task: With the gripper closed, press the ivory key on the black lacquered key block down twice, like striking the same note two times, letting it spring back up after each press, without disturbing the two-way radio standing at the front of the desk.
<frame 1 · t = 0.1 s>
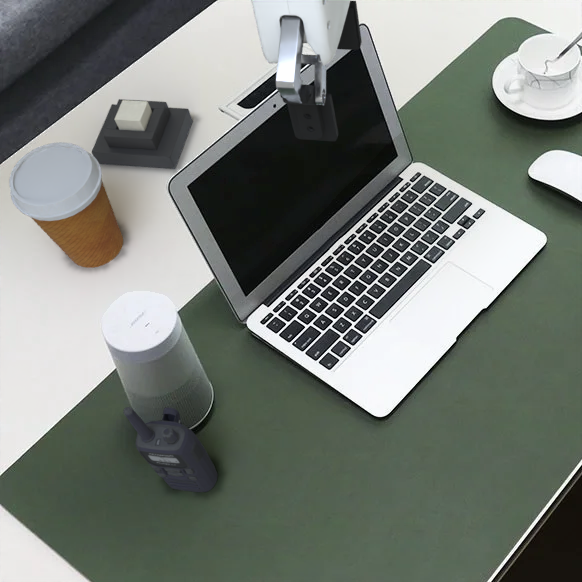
hand: (330, 90, 64), 29 cm above the table, tool pointing down, fingers open, 9 cm apart
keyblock: (146, 143, 103), on the table
key: (133, 115, 99), point 4 cm above the table, slide at 0.1 cm
two-way radio: (195, 473, 82), on the table
disposable coffee cup: (97, 247, 96), on the table
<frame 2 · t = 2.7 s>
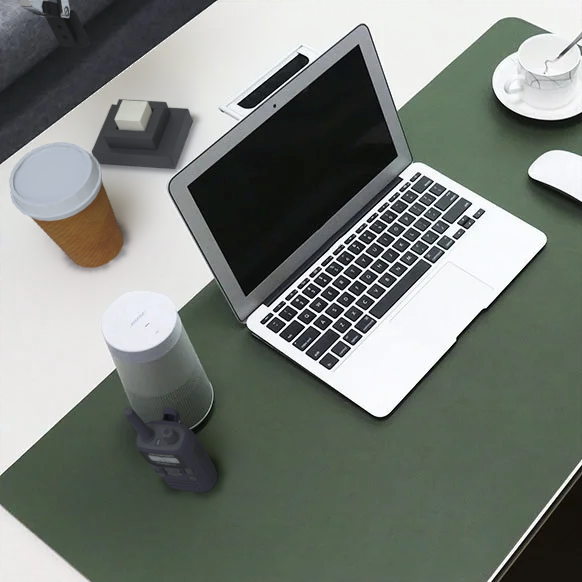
hand: (88, 18, 87), 18 cm above the table, tool pointing down, fingers open, 7 cm apart
nothing on the table moved.
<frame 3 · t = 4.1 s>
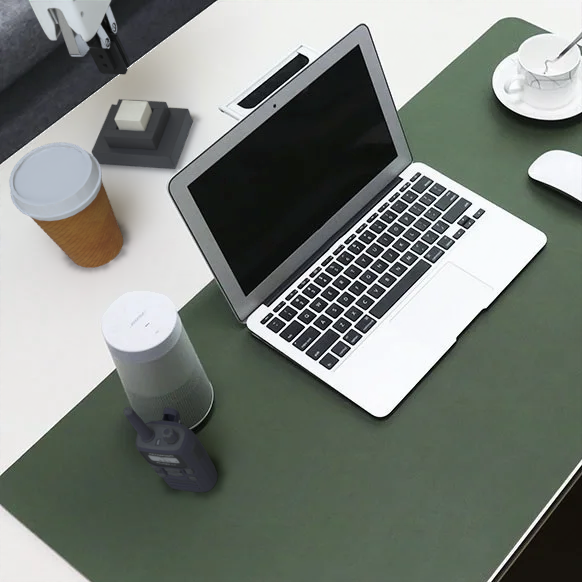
hand: (115, 68, 93), 11 cm above the table, tool pointing down, fingers closed
nothing on the table moved.
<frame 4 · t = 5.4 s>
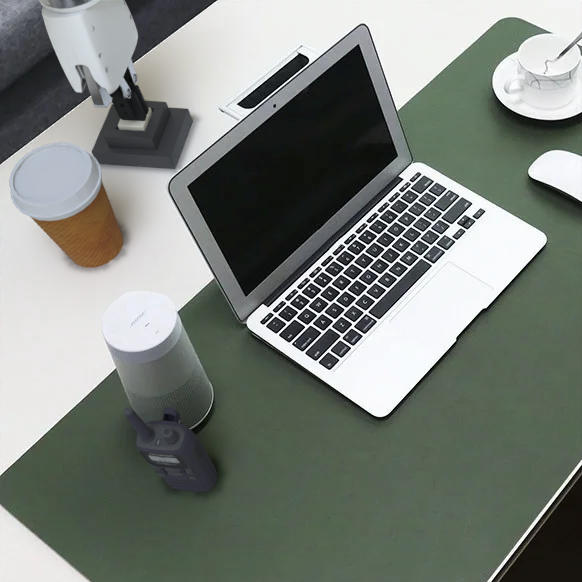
hand: (135, 115, 99), 4 cm above the table, tool pointing down, fingers closed
key: (136, 122, 100), point 3 cm above the table, slide at -0.9 cm, touching gripper
everything else where it was.
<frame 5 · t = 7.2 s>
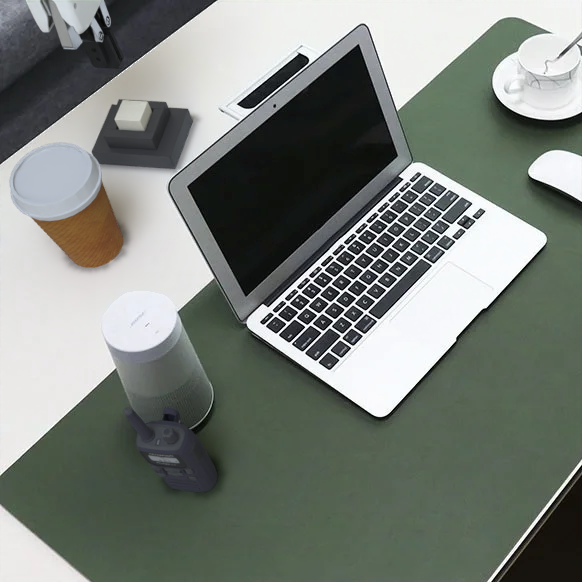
hand: (109, 63, 92), 12 cm above the table, tool pointing down, fingers closed
key: (133, 115, 99), point 4 cm above the table, slide at 0.1 cm
everything else where it was.
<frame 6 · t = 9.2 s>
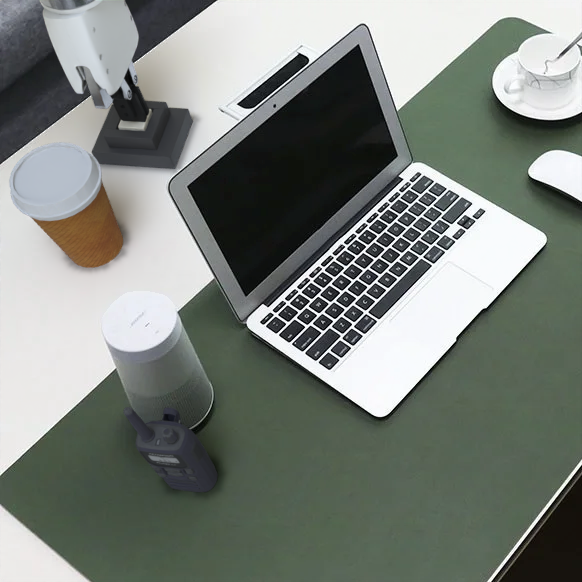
hand: (135, 116, 99), 4 cm above the table, tool pointing down, fingers closed
key: (137, 123, 100), point 3 cm above the table, slide at -1.1 cm, touching gripper
everything else where it was.
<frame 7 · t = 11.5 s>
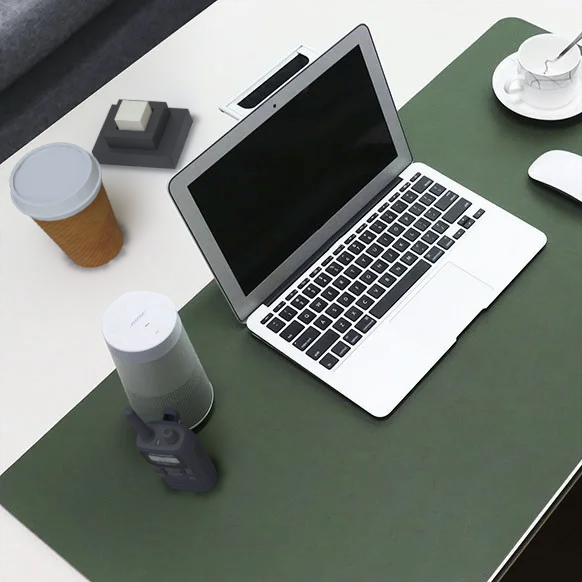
key: (133, 115, 99), point 4 cm above the table, slide at 0.1 cm
everything else where it was.
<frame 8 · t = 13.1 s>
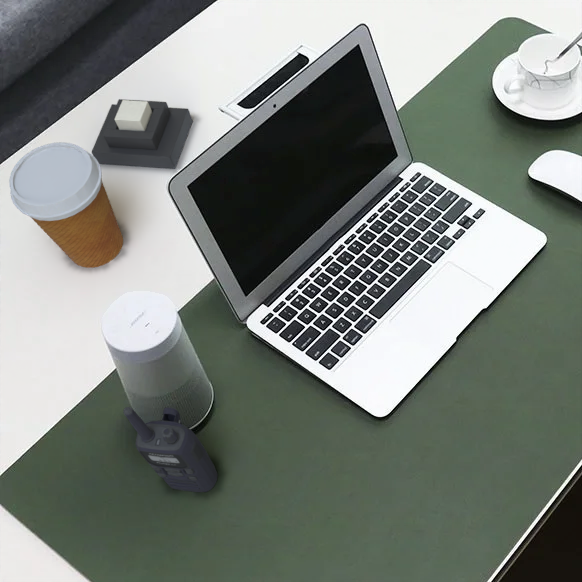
nothing on the table moved.
at the end: key pushed in 1.1 cm at the most during the clip, back to where it started at the end; key slide at 0.1 cm; two-way radio moved 0.2 cm from its start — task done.
